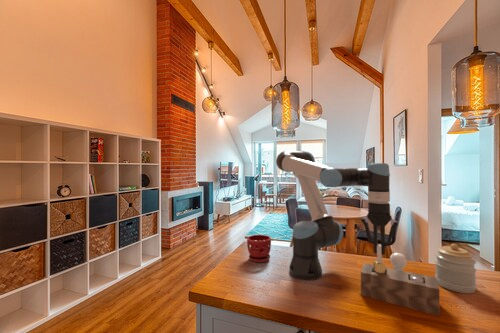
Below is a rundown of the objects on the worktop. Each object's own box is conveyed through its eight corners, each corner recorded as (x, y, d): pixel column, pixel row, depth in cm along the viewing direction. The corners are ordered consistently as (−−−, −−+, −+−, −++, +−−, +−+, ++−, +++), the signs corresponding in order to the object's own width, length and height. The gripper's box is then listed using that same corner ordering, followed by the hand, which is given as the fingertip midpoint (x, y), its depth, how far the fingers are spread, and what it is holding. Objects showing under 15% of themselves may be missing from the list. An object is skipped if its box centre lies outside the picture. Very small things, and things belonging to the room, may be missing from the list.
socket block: (360, 295, 91) (360, 272, 91) (364, 284, 99) (364, 263, 99) (439, 316, 78) (439, 289, 78) (436, 301, 86) (435, 277, 86)
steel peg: (409, 300, 85) (409, 278, 85) (409, 294, 88) (409, 273, 88) (424, 304, 82) (424, 281, 82) (423, 298, 86) (423, 276, 86)
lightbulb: (409, 281, 102) (409, 256, 102) (393, 280, 103) (393, 255, 103) (402, 274, 108) (402, 251, 108) (387, 273, 109) (387, 250, 109)
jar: (437, 275, 107) (437, 237, 107) (476, 285, 98) (476, 243, 98) (432, 285, 98) (432, 243, 98) (475, 298, 88) (475, 251, 89)
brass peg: (372, 283, 91) (372, 263, 91) (373, 278, 95) (373, 259, 95) (385, 286, 89) (385, 265, 89) (386, 281, 93) (386, 261, 93)
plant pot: (275, 257, 129) (274, 235, 129) (264, 266, 118) (263, 242, 118) (254, 253, 136) (254, 232, 136) (242, 260, 125) (242, 238, 125)
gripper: (359, 202, 92) (360, 261, 92) (398, 204, 85) (399, 269, 85) (362, 199, 99) (362, 255, 99) (398, 202, 92) (399, 262, 91)
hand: (379, 261), depth 92 cm, fingers closed
